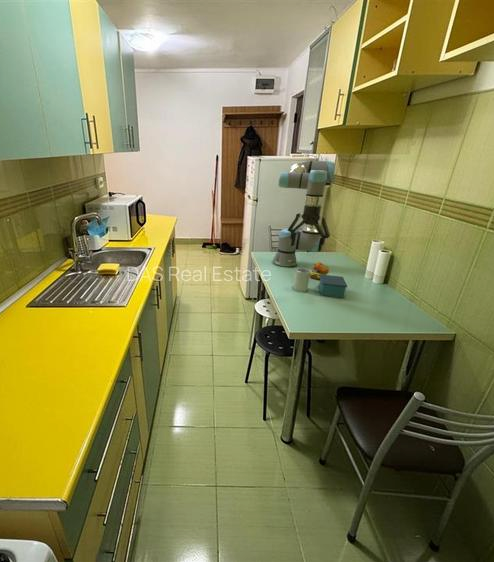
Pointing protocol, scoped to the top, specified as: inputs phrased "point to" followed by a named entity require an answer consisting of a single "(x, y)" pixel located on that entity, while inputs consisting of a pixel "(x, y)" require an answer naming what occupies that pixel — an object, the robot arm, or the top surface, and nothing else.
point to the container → (332, 285)
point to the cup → (301, 279)
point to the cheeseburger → (318, 270)
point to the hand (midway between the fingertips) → (305, 248)
